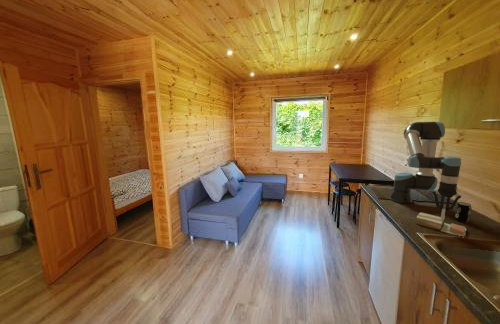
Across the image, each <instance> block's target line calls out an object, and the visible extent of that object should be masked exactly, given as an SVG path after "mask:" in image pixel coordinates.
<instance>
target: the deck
mask: <svg viewBox="0 0 500 324" xmlns="http://www.w3.org/2000/svg"><path fill="white" fill-rule="evenodd" d="M444 220H445V219H444ZM444 220H443V219H441V216H438V215H433V214H429V213H426V212H422V211H421V212H419V213H418V214H417V216H416V217H415V222H414V223H415V224H417V225H420V226H424V227H427V228H431V229H435V230H439V231H441V229H442V227H443V225H444Z"/></svg>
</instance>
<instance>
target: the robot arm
mask: <svg viewBox="0 0 500 324" xmlns="http://www.w3.org/2000/svg"><path fill="white" fill-rule="evenodd" d="M445 127H446V126H445V124H444V123H443V122H442V121H415V122H412V123H409V125H407V126H406V127H405V129H404V131H403V138H404V139H405V140H406V143H407V147H408V151H409V157H408V158H407V166H408V168H414V169H418V171H417V172H415V175H414V174H413V173H412V172H397V173H396V174H395V175H394V179H393V181H394V182H393V188H392V189H393V190H392V192H391V194H390V195H389V200H390V201H393V202H395V203H399V204H404V205H405V204H406V205H407V204H413V203H412V202H413V198H412V194H411V190H413V191H424V192H432V194H433V195H434V202H435V206H436V207H437V208H439V210H438V213H439V214H440V217H441V219H443V220H445V217H446V216H447V215H448V214H449V211H451V210H454V208H455V205H456V204H457V203H458V202H459V201H458V200H460V199H461V198H462V195H461V194H458V191H457V187H458V182H459V175H460V171H461V166H462V158H461V157H458V156H448V155H447V156H439V157H437V156H436V153H437V146H438V142H439V141H441V138H444V137H445V134H446V128H445ZM434 169H435V170H441V173H440V181H439V187H438V188H437V186H438V177H437V176H436V175H435V173H434ZM435 189H437V190H435ZM438 194H439V195H440V196H441V199H440V200H439V195H438ZM452 197H455V199H453V202H452V203H450V202H451V198H452ZM445 198H446V202H445ZM439 201H440V202H439ZM444 203H446V204H445V207H444ZM450 204H451V205H450Z"/></svg>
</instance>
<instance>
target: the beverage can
mask: <svg viewBox="0 0 500 324" xmlns="http://www.w3.org/2000/svg"><path fill="white" fill-rule="evenodd" d="M456 204H457V205H456V209H455V214H454V219H455V221H458V222H460V223H466V224H467V223H468V222H469V221H470V217H471V213H472V212H471V211H472V204H471V203H468V202H465V201H458V202H457V203H456Z"/></svg>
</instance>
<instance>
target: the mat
mask: <svg viewBox="0 0 500 324" xmlns="http://www.w3.org/2000/svg"><path fill="white" fill-rule="evenodd" d="M450 226H451V223H446V222H443V225H442V227H441V229H440V232H443V233H447V234H450V235H453V236H457V235H458V236H457V237H460V236H465V237H466V232H467V228H466V227H465V231H464V235H461V234H457V233H453V232H450V231H449V229H450Z"/></svg>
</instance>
